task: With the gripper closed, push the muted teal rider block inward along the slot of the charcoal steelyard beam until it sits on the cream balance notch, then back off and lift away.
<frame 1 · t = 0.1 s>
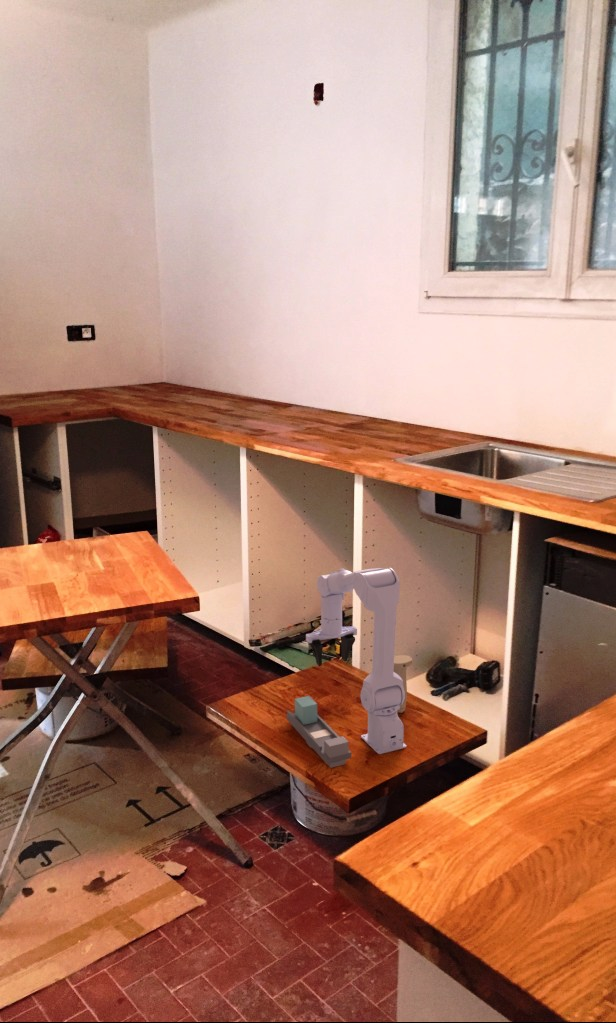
hand: (331, 662, 236), 10 cm above the table, tool pointing down, fingers open, 7 cm apart
rider: (306, 710, 218), point 6 cm above the table, slide at 0.0 cm
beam: (317, 743, 213), on the table
handle: (399, 711, 229), on the table
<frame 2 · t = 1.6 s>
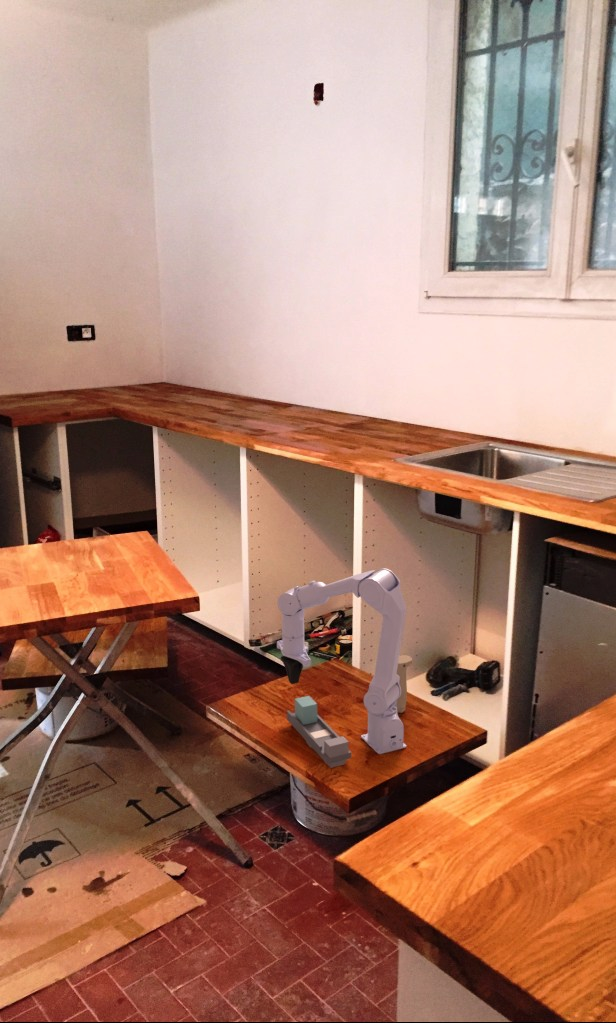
hand: (293, 682, 223), 10 cm above the table, tool pointing down, fingers closed
nothing on the table moved.
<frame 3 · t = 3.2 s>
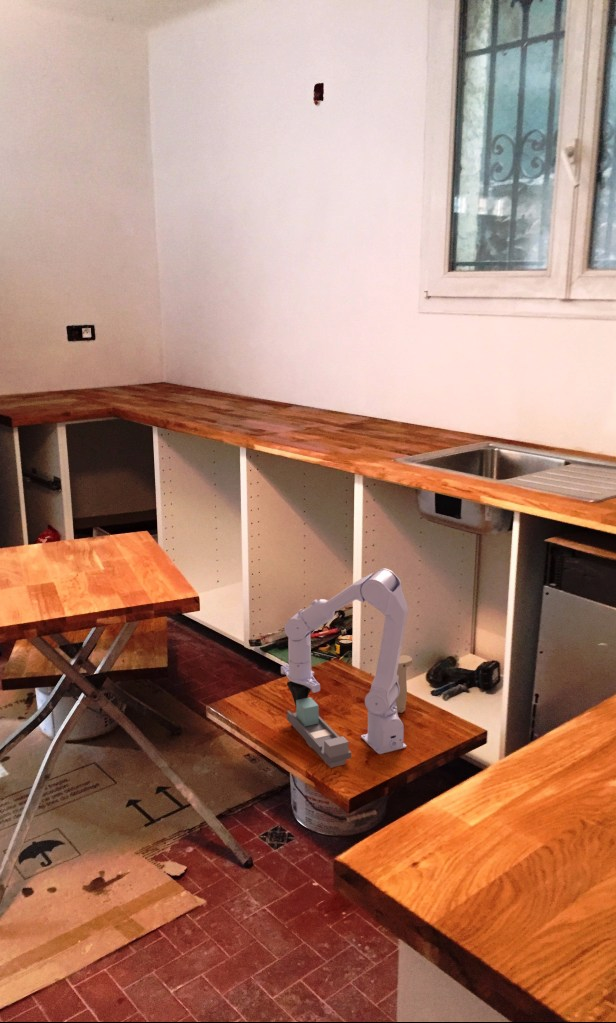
hand: (300, 707, 221), 5 cm above the table, tool pointing down, fingers closed
rider: (307, 711, 217), point 6 cm above the table, slide at 0.9 cm, touching gripper
everything else where it was.
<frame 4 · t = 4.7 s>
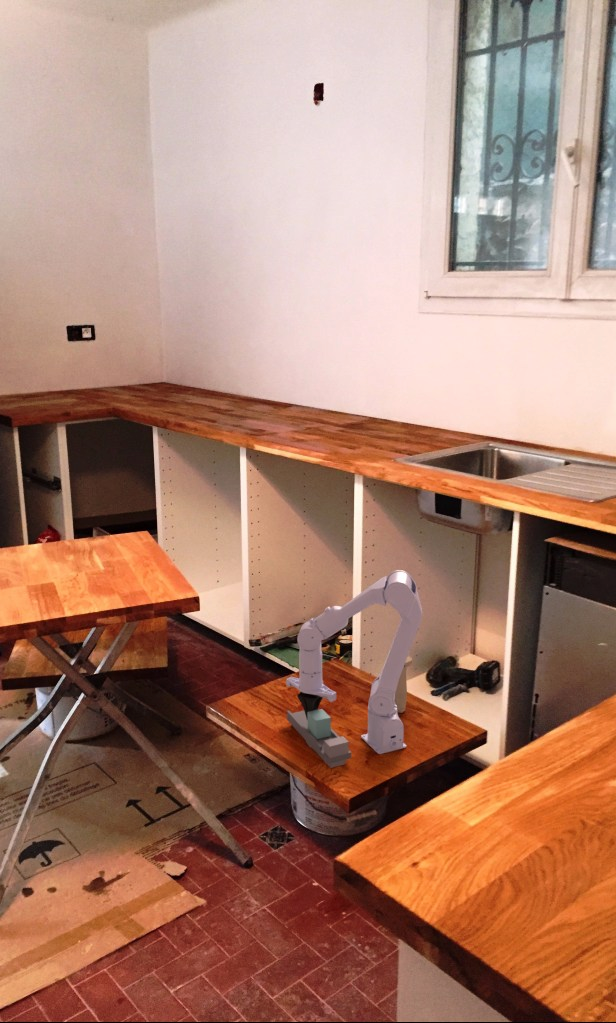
hand: (311, 718, 215), 5 cm above the table, tool pointing down, fingers closed
rider: (319, 723, 211), point 6 cm above the table, slide at 7.9 cm, touching gripper
everything else where it was.
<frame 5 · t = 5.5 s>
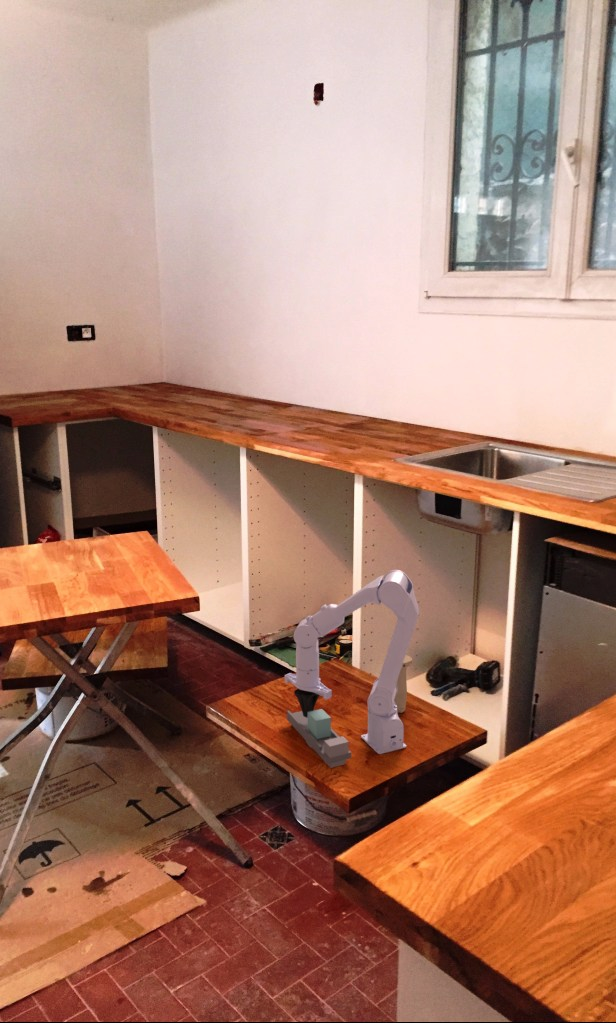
hand: (307, 715, 217), 5 cm above the table, tool pointing down, fingers closed
rider: (319, 723, 211), point 6 cm above the table, slide at 7.9 cm
everything else where it was.
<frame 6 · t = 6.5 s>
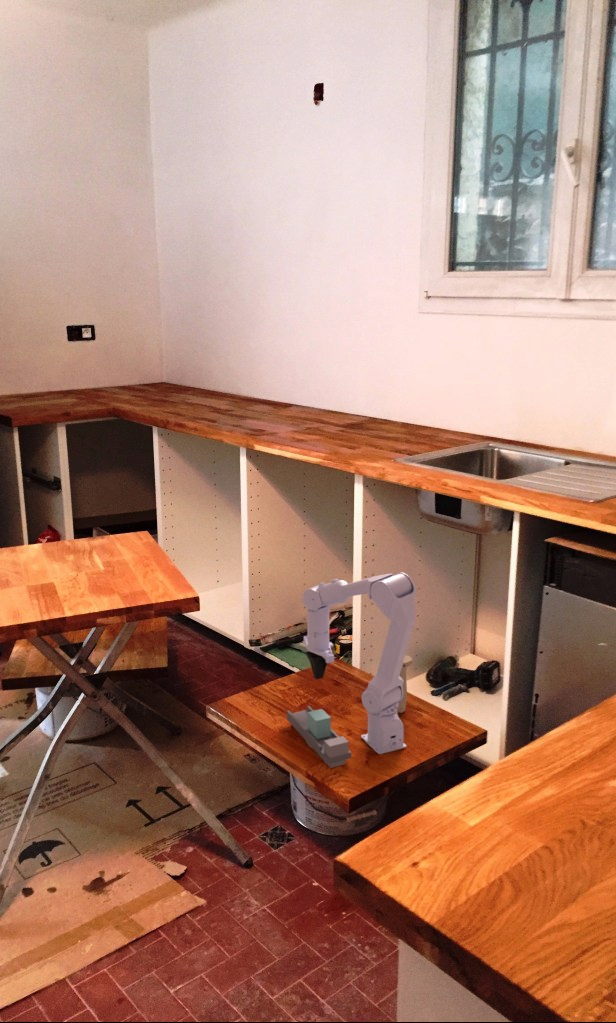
hand: (318, 677, 226), 10 cm above the table, tool pointing down, fingers closed
nothing on the table moved.
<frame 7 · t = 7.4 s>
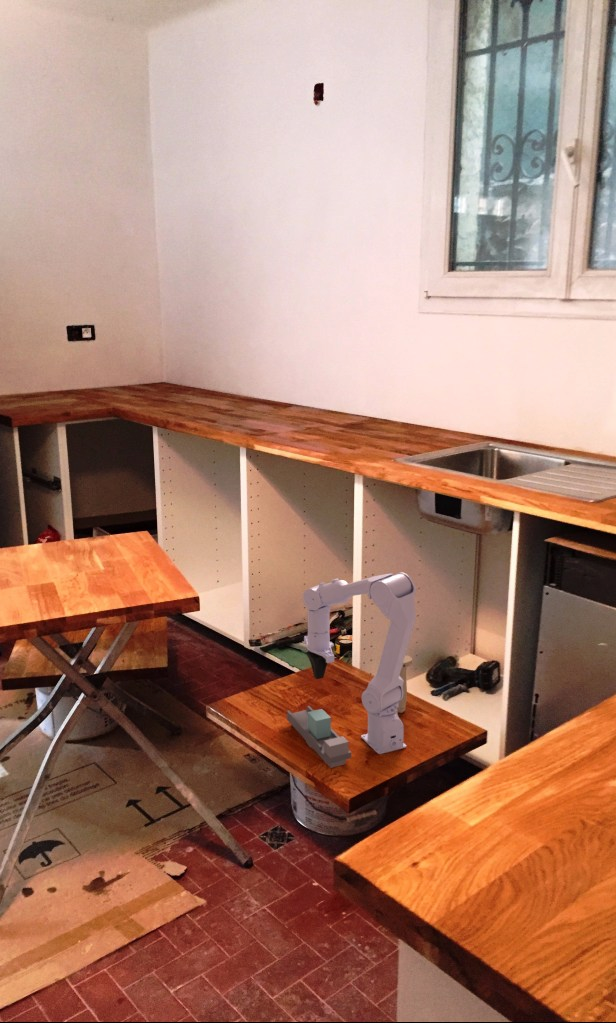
hand: (318, 677, 226), 10 cm above the table, tool pointing down, fingers closed
nothing on the table moved.
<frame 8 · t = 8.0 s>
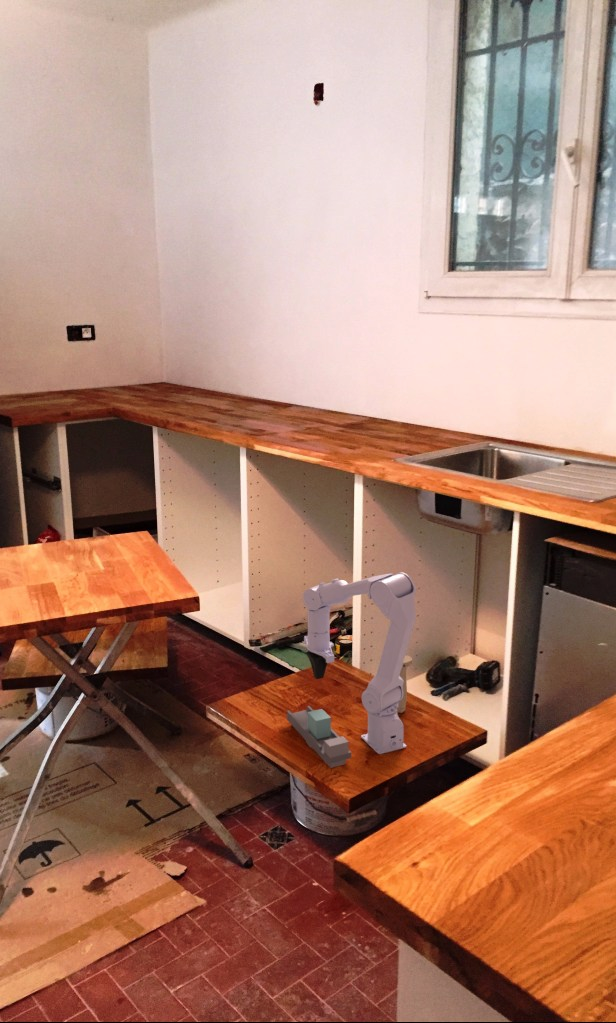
hand: (318, 677, 226), 10 cm above the table, tool pointing down, fingers closed
nothing on the table moved.
at the end: rider slide at 7.9 cm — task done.
